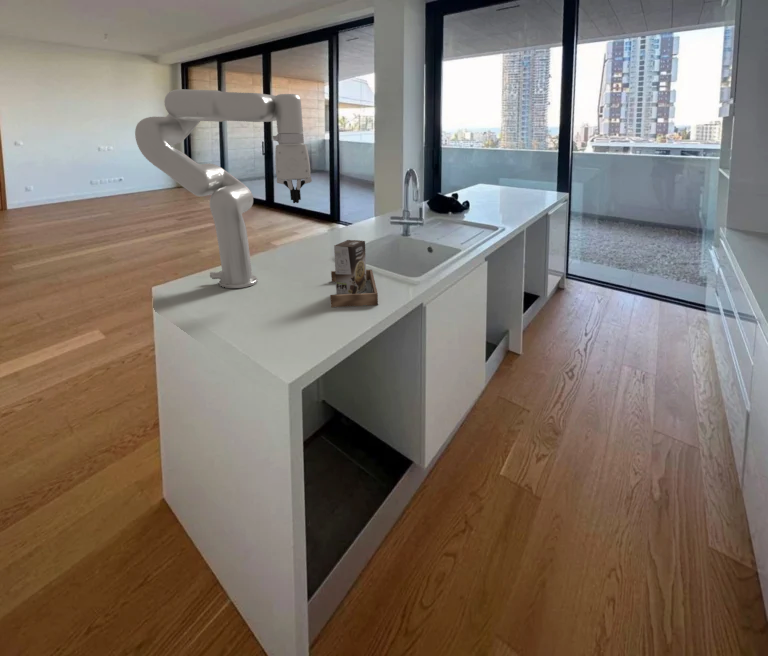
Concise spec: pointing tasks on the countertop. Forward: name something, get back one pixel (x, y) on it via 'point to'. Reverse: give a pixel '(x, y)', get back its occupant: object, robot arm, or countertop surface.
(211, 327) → the countertop surface
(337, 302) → the walnut bay
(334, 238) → the countertop surface
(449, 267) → the countertop surface
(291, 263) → the countertop surface
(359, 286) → the coffee box
